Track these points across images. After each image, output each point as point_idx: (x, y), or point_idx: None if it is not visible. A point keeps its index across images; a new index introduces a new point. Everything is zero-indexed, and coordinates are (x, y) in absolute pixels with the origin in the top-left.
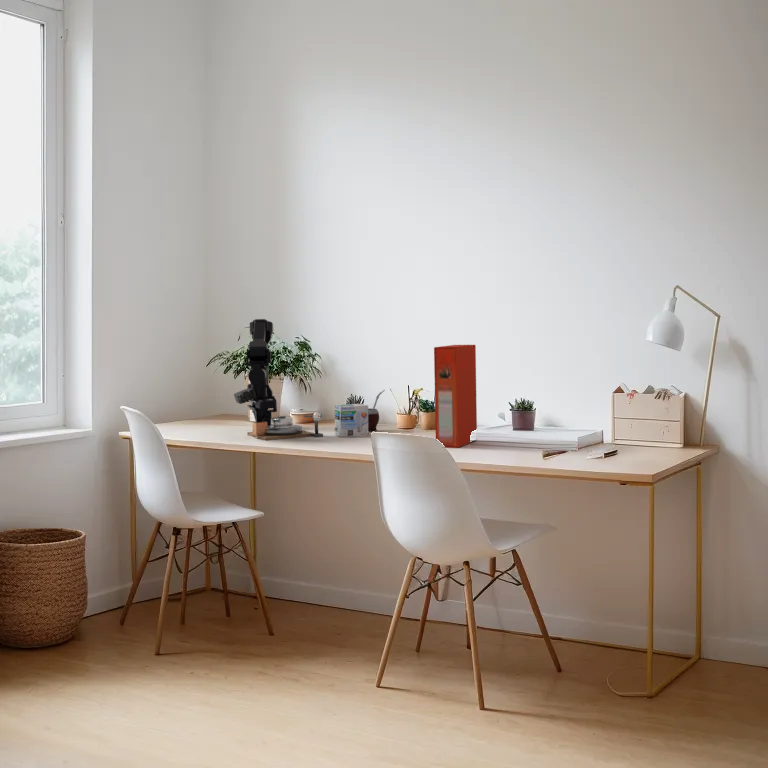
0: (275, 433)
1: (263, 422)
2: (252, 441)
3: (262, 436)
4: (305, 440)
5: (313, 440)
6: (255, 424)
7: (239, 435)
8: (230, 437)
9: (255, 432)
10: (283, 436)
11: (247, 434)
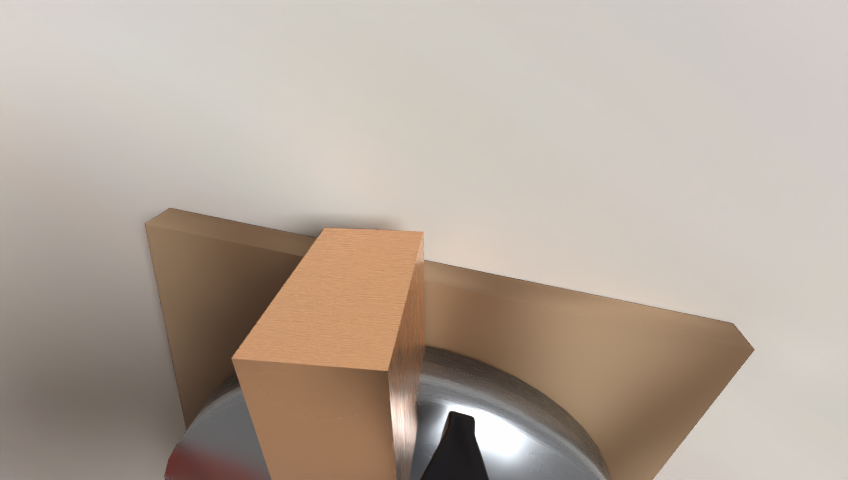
0: (223, 387)
1: (273, 474)
2: (144, 30)
3: (241, 250)
4: (24, 407)
5: (7, 432)
6: (272, 336)
7: (840, 257)
8: (833, 23)
9: (332, 248)
10: (183, 391)
11: (735, 329)
